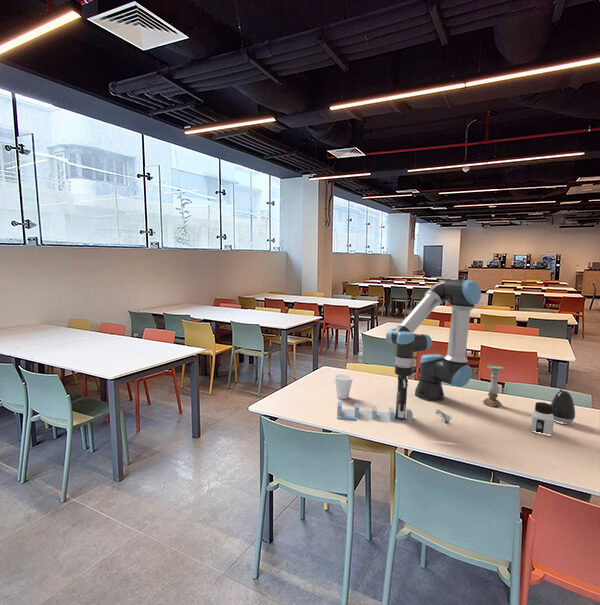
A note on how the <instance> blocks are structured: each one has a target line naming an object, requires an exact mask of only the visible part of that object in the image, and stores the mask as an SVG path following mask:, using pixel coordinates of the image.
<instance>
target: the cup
mask: <svg viewBox="0 0 600 605" xmlns="http://www.w3.org/2000/svg"><path fill="white" fill-rule="evenodd" d="M353 379H354V377H353V376H352V375H348V374H337V375H334V381H335V382H334V383H335V390H336V397H337V398H338V399H340V400H347V399H348V398H349V396H350V392H351V387H352V383H353Z"/></svg>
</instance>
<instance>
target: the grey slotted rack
mask: <svg viewBox="0 0 600 605" xmlns="http://www.w3.org/2000/svg"><path fill="white" fill-rule="evenodd" d="M336 407H337V409H336V410H337V412H336V419H337V420H349V421H357V420H363V421H374V422H382V423H383V422H384V423H393V424H394V423H395V424H404V425H405V424H407V425H414V423H413V417H414V414H413V411H412V409H411V408H406V413H405V420H398V419H396V418H395V414H396V411H395V409H394V407H393V406H392V407H391V406H388V412H385V411H384V412H383V411H378V409H377V405H371V410H363V409H361V410H360V403H359V402H358V403H357V402H355V403H354V408H353V409H352V408H349V409H348V408H343V401H337V406H336Z"/></svg>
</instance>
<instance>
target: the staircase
mask: <svg viewBox="0 0 600 605" xmlns="http://www.w3.org/2000/svg"><path fill="white" fill-rule="evenodd" d="M435 415H437V416H439V417H441V420H442V421H443V422H444V423H445V424H450V423H451V422H450V420H452V419H453V416H450V415H449V414H447V413H445V412H443V411H442V410H441V409H435Z"/></svg>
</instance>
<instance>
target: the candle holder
mask: <svg viewBox="0 0 600 605" xmlns="http://www.w3.org/2000/svg"><path fill="white" fill-rule="evenodd" d="M487 369H489V370H490V371H491V373H492V374H490V377H491V379H490V383H489V385H488V387H487V391H488V393H487V396H488V397H487V398H485V399H483V400H482V403H483V404H484V403H485V404H487V405H486V406H488V405H491V406H501V407H502V405H503V404H502V402H501V401H500V400H498V399H497V398H498V397H499V395H498V394H499V392H500V388H499V385H498V378H500V376H499V373H500V371H503V370H504V369H505V367H503V366H501V365H497V364H488V365H487ZM485 404H484V405H485ZM491 406H490V407H491Z"/></svg>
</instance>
